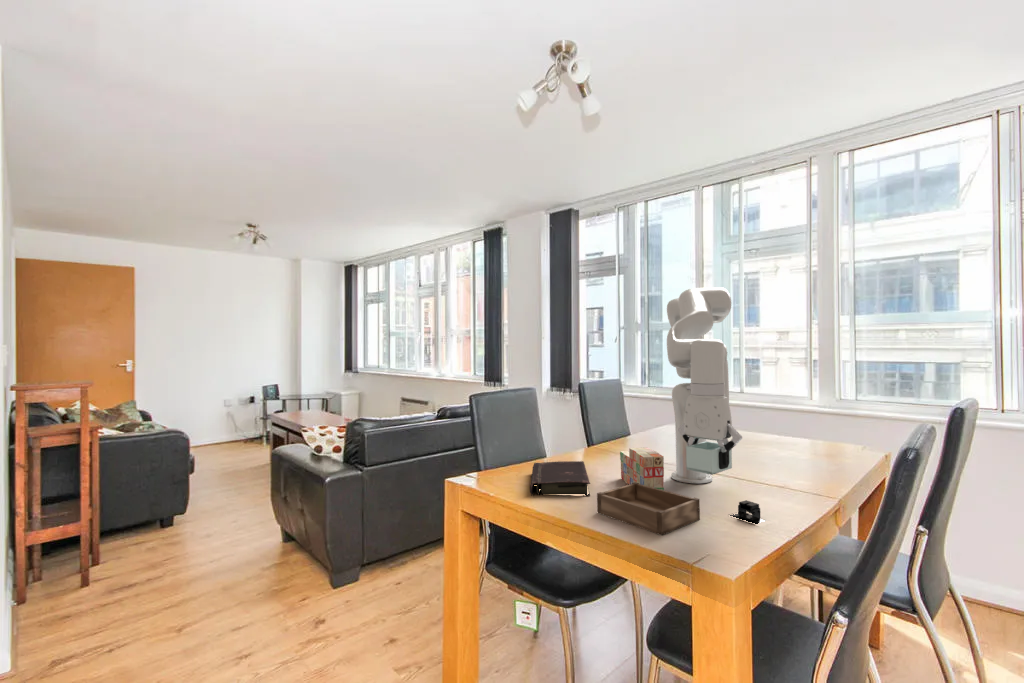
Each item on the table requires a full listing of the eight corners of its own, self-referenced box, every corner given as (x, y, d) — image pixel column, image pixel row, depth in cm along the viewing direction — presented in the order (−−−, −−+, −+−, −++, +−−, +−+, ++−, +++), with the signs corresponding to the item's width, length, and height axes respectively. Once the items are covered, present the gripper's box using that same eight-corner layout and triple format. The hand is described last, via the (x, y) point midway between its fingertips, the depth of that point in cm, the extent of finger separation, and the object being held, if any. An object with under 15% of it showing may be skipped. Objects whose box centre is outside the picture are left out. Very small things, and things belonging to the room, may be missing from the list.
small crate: (706, 463, 120) (706, 441, 120) (731, 468, 115) (731, 445, 115) (686, 469, 114) (686, 446, 114) (712, 474, 109) (711, 450, 109)
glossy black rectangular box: (719, 516, 125) (718, 498, 125) (737, 511, 128) (737, 494, 128) (763, 531, 114) (763, 512, 114) (782, 526, 117) (781, 507, 117)
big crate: (635, 500, 137) (635, 482, 137) (699, 519, 121) (699, 498, 121) (597, 512, 127) (597, 493, 127) (662, 535, 111) (661, 512, 111)
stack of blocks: (620, 478, 160) (619, 442, 160) (638, 478, 160) (637, 441, 161) (643, 498, 139) (643, 456, 139) (664, 497, 139) (663, 455, 139)
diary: (530, 498, 143) (529, 481, 143) (532, 476, 167) (532, 461, 168) (593, 498, 141) (592, 480, 141) (586, 475, 166) (585, 461, 166)
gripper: (667, 389, 119) (668, 461, 119) (735, 394, 106) (737, 475, 106) (683, 387, 124) (685, 456, 124) (751, 391, 110) (753, 469, 110)
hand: (709, 464), depth 115 cm, fingers closed on small crate, 6 cm apart
